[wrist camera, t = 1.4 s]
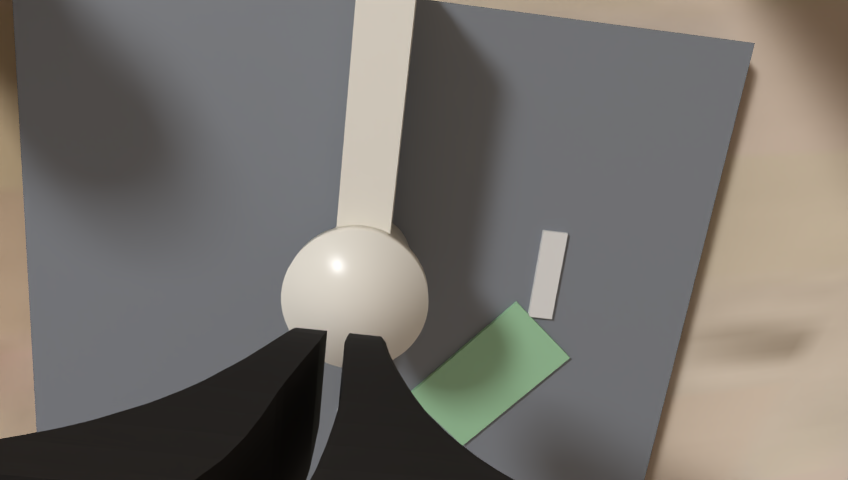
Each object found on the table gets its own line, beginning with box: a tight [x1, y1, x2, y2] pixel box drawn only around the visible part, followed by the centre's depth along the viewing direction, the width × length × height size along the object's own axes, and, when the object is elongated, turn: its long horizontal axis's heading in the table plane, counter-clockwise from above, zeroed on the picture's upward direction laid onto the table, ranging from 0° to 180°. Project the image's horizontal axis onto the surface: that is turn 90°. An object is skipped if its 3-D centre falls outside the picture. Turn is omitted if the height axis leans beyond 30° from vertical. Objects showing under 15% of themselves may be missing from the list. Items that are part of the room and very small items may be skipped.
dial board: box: [13, 0, 755, 480], centre depth 20 cm, size 18×22×1 cm
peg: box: [281, 0, 429, 367], centre depth 17 cm, size 15×4×4 cm, turn 173°
